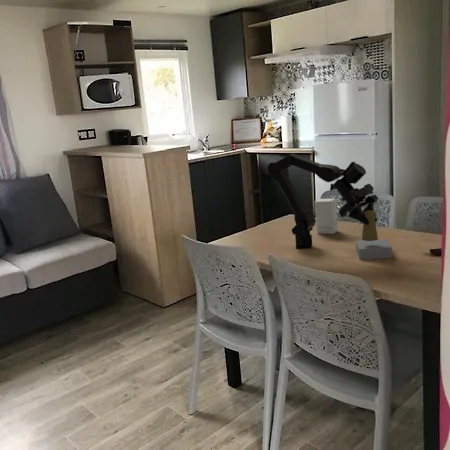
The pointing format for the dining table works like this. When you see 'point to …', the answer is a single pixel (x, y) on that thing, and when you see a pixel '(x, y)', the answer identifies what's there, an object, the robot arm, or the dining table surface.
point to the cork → (369, 227)
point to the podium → (373, 249)
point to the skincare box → (326, 216)
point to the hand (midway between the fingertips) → (372, 222)
